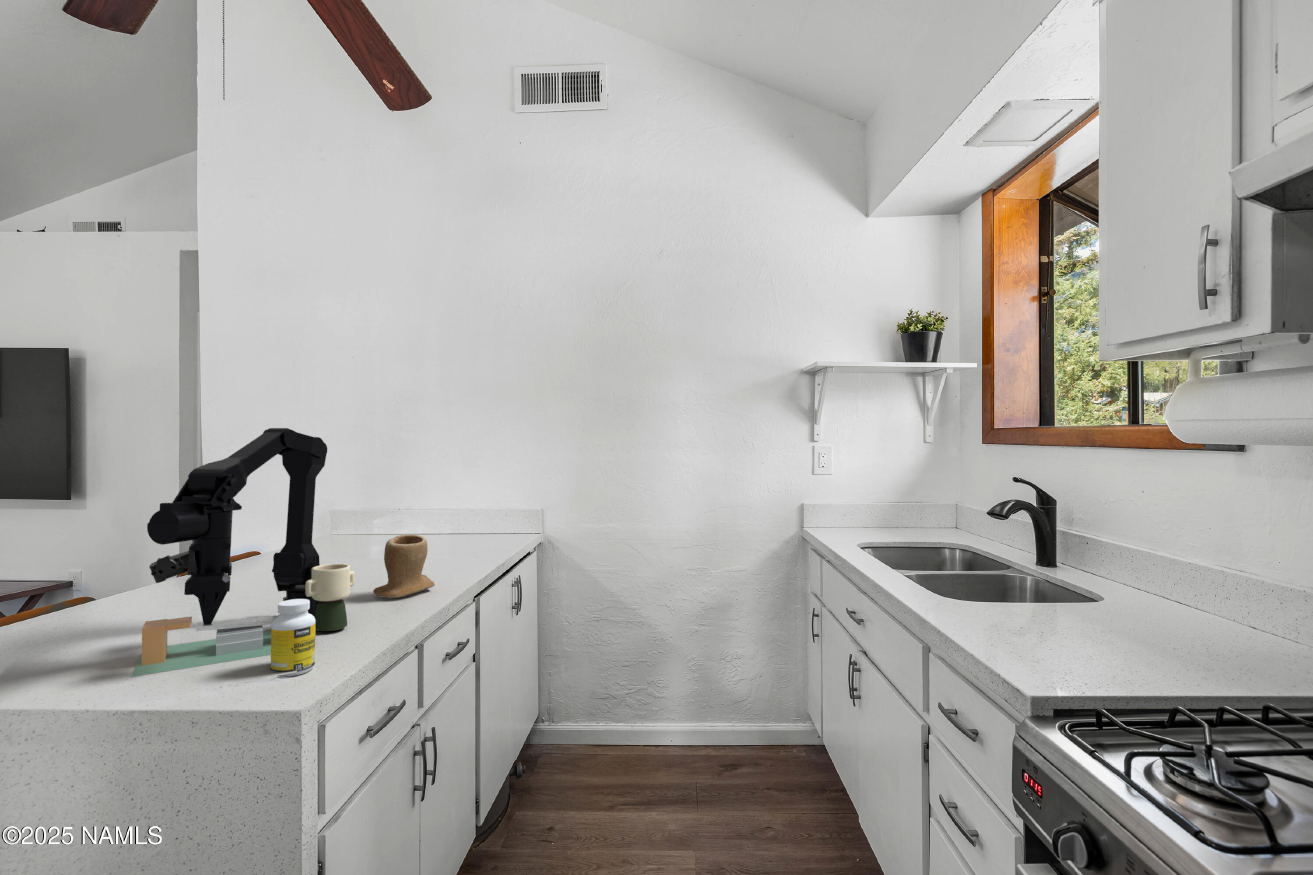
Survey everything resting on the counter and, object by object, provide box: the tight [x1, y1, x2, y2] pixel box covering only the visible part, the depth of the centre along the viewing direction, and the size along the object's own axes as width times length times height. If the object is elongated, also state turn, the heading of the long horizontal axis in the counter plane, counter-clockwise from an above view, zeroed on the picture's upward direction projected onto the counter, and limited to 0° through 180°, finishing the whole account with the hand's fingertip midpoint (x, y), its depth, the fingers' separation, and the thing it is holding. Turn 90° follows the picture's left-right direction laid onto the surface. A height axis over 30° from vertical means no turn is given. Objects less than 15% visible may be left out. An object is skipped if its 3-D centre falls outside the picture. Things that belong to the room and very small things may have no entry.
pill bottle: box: [270, 599, 316, 678], centre depth 105 cm, size 6×6×12 cm
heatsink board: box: [130, 625, 271, 678], centre depth 113 cm, size 23×16×6 cm
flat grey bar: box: [195, 614, 279, 632], centre depth 114 cm, size 14×4×1 cm, turn 124°
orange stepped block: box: [141, 616, 193, 666], centre depth 108 cm, size 6×5×6 cm
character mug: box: [306, 563, 356, 633], centre depth 128 cm, size 11×7×13 cm, turn 155°
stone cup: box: [372, 533, 435, 599], centre depth 158 cm, size 15×12×15 cm
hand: (207, 624), depth 112 cm, fingers closed, pressing on flat grey bar
